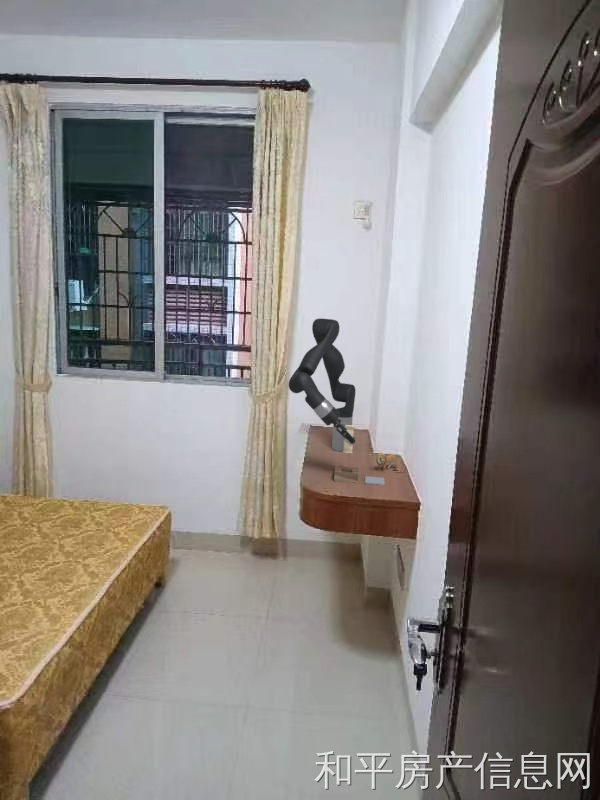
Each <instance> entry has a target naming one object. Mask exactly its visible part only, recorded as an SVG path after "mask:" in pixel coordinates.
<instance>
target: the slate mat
mask: <svg viewBox="0 0 600 800" xmlns="http://www.w3.org/2000/svg"><path fill="white" fill-rule="evenodd" d="M365 483H367V485H376V484H380V486H385V484H386V483H385V477H377V476H366V475H365V476H364V484H365Z"/></svg>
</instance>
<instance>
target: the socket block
mask: <svg viewBox="0 0 600 800" xmlns="http://www.w3.org/2000/svg"><path fill="white" fill-rule="evenodd" d="M359 469H360V468H359V467H353V466H340V465H335V469H334V474H333V475H334V476H333V481H334V482H343V483H352V482H355V483H354V484H358V483H359V473H360V471H359Z"/></svg>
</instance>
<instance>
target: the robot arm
mask: <svg viewBox="0 0 600 800" xmlns="http://www.w3.org/2000/svg"><path fill="white" fill-rule="evenodd" d="M311 326H312V327H311V329H312V335H313V339H314V340H315V343H316V345H314V346H313V347H312V348H310V349H309V350H308V351H307V352H306V353H305V354H304V356H303V358H302V360H301V361H300V364H299V365H298V367H297V368H296V370H294V373H293V374H292V376H291V377H290V378H289V381H288V388H289V390H290V391H291V393H293V394H300V393H302V392H304V393H305V395H306V396H305V398H304V401H305V403H307V405H308V406H309V407H310V408H311V409H312V410H313V412H314V413H315V414H316V416H318V418H319V419H320V420H321V421H322V422H323V423H324V424H325V425H326V426H330V425H331V424H332V425H333V427H332V442H331V449H332V450H333V451H336V452H344V439H345V438H346V439H347V440H348V441H349V442H350V443H351V444H353V445H354V444H355V443H356V439H355V436H354V435H353V437H352V436H351V435H350V433H349V432H348V431H347V428H346V427H345V426H346V425H352V426H353V415H354V408H355V400H356V387H355V385H354V384H352V383H351V384H350V383H343V382H340V377H341V376H342V374H343V372H344V370H345V368H346V365H345V361H344V357H343V355H342V353H341V351H339V349H338V348H337V347H336V346H335V345H333V344H334V342H336V340H337V338H338V337H339V333H340V323H339V322H338V320H335V319H333V318H316V319H315V320H313V322H312V325H311ZM321 360H322V362H323V365H324V368H325V370H326V371H325V372H326V374H327V377H328V381H329V382H328V383H329V387H330V392H331V396H332V399H333V400H334V401H336V402H340V403H344V406H341V407H338V408H336V407H335V406H334V405H333V404H332V403H331V402H330V400H328V399H327V398H326V397H325V396H324V395H323V394H322V392H320V390H319V389H318V387H317V385H316V383H315V381H314V379H313V378H312V376H313V375H314V374H315V372H316V370H317V368H318V366H319V364H320V362H321ZM345 432H346V434H345Z"/></svg>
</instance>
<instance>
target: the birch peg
mask: <svg viewBox="0 0 600 800" xmlns="http://www.w3.org/2000/svg"><path fill="white" fill-rule="evenodd" d="M345 427H346V428H347V431H348V432H349V433H350V435H351V436H352V437H353V436H354V431H355V425H353V424H352V425H346V426H345ZM345 434H346V432H345ZM353 447H354V443H353V444H351V443H350V442H349V441H348V440H347V439H346V438H345V439H344V451H343V453H346V454H353V449H354V448H353Z"/></svg>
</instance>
